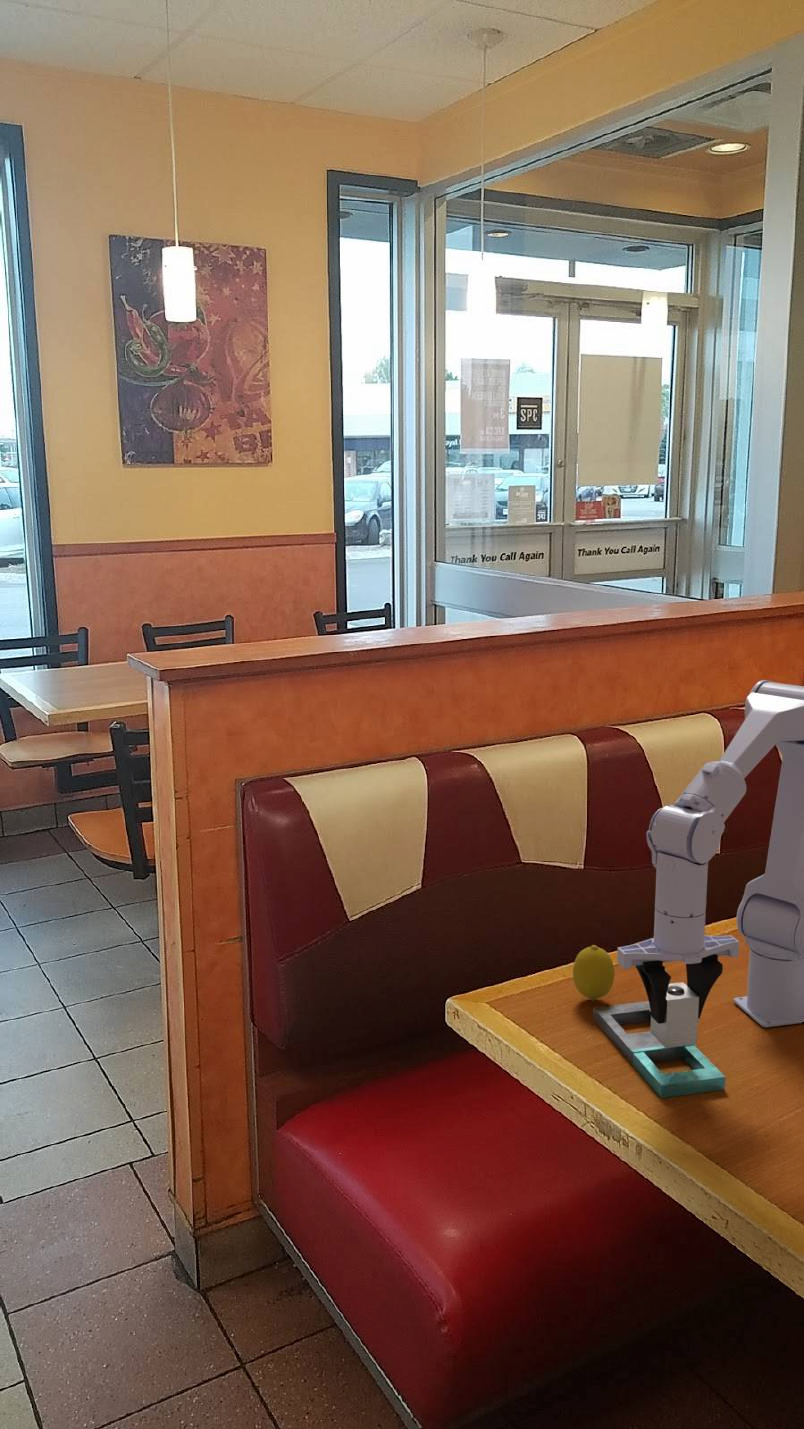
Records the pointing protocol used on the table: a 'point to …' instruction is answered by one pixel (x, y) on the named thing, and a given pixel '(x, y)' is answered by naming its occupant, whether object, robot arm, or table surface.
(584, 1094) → the table surface
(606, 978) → the lemon
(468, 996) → the table surface
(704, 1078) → the teal silver rectangular frame
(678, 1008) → the domed white cube
